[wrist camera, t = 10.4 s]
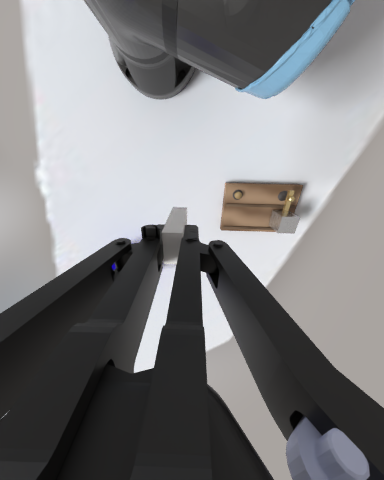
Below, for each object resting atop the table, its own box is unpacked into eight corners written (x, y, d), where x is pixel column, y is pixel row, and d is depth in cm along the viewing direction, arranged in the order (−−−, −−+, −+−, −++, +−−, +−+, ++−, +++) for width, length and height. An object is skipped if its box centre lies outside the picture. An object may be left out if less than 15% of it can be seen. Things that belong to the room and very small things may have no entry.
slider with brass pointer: (278, 188, 37) (289, 192, 33) (295, 189, 37) (308, 193, 33) (268, 225, 41) (277, 232, 37) (283, 225, 41) (294, 233, 37)
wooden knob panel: (225, 182, 39) (227, 184, 36) (299, 184, 38) (305, 186, 36) (220, 227, 44) (221, 231, 42) (284, 229, 44) (289, 233, 42)
